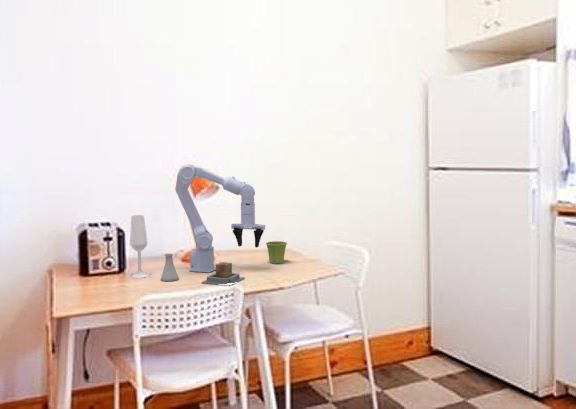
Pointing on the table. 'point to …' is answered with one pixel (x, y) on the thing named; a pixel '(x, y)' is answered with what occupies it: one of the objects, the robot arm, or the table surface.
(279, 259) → the plant pot
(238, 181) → the robot arm
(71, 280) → the table surface
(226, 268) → the block
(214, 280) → the holder
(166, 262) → the flask
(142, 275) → the champagne flute
